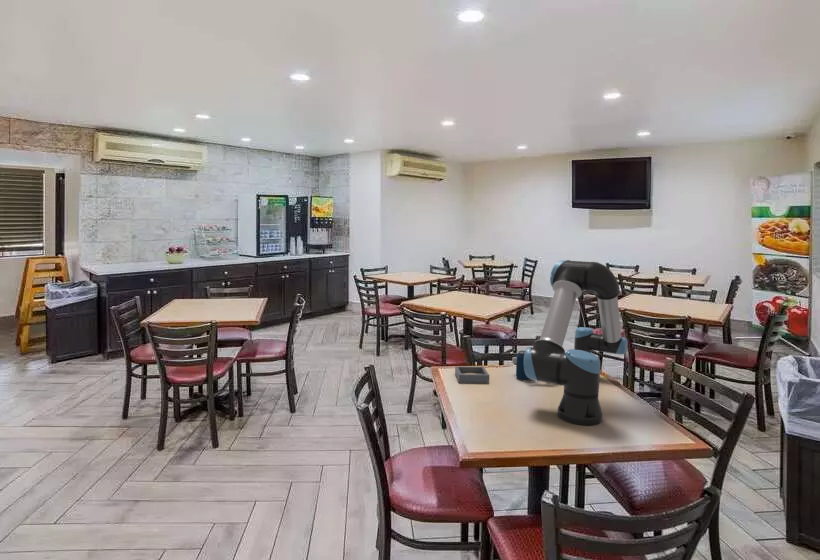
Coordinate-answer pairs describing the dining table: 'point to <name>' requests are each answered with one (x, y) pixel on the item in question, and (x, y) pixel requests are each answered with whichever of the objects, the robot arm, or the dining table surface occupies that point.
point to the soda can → (521, 366)
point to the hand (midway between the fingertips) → (518, 364)
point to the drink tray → (471, 374)
